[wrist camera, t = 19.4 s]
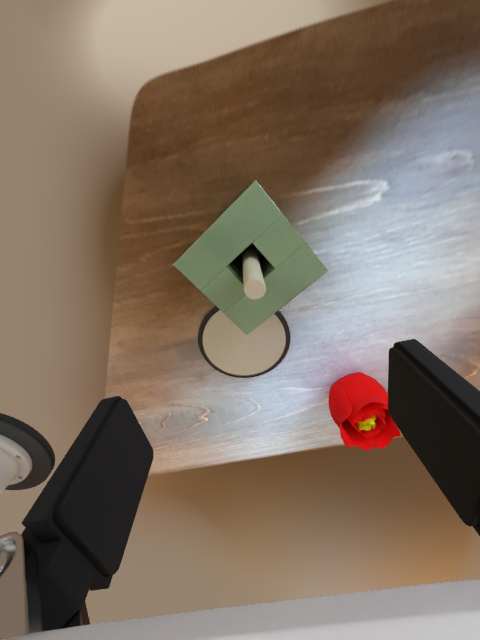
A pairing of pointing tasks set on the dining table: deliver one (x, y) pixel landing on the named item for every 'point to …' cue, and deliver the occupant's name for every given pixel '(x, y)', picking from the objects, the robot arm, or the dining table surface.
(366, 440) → the flower
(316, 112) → the dining table surface
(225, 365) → the beige coaster disc
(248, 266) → the pen
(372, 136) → the dining table surface
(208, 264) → the pen stand
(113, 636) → the robot arm
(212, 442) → the dining table surface
